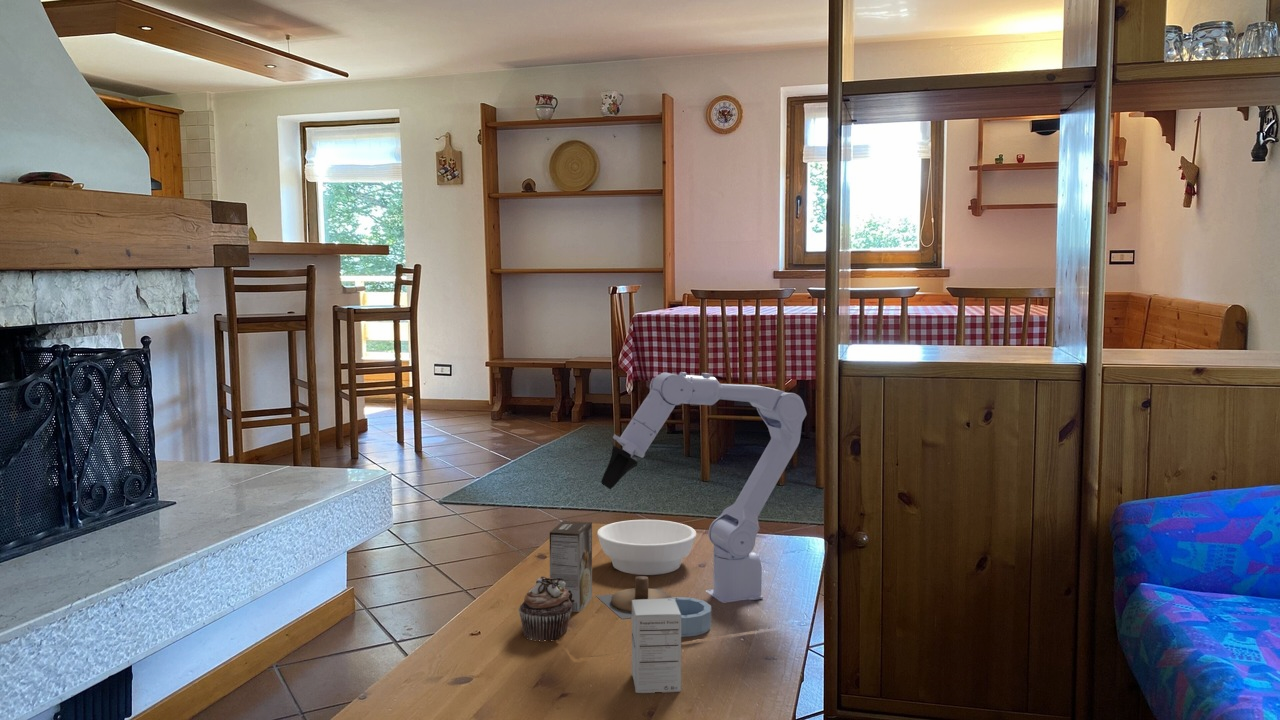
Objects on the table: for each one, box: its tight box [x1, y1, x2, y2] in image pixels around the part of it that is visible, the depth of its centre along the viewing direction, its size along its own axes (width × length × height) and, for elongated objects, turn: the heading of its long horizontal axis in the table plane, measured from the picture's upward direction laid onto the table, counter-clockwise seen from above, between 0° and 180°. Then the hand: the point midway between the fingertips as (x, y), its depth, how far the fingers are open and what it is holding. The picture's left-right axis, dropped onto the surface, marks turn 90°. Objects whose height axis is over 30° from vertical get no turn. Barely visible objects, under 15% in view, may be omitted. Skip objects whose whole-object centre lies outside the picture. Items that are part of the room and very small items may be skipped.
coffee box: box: [549, 520, 593, 613], centre depth 179 cm, size 9×6×16 cm
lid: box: [611, 575, 673, 613], centre depth 180 cm, size 12×12×5 cm
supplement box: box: [631, 599, 682, 694], centre depth 144 cm, size 7×7×13 cm
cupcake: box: [518, 576, 572, 642], centre depth 165 cm, size 10×10×10 cm
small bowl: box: [665, 596, 712, 638], centre depth 168 cm, size 11×11×4 cm
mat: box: [595, 587, 664, 620], centre depth 180 cm, size 14×14×1 cm
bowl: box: [596, 519, 697, 576], centre depth 205 cm, size 22×22×8 cm
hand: (605, 486), depth 174 cm, fingers open, 7 cm apart
